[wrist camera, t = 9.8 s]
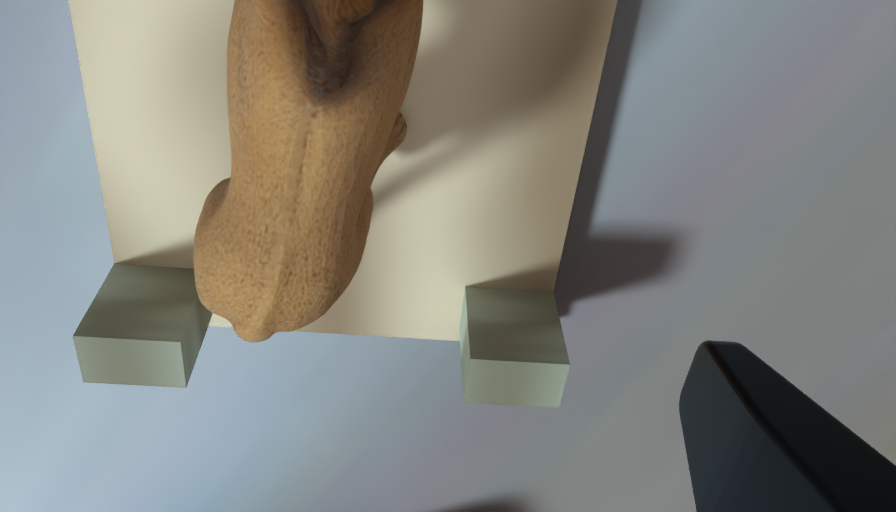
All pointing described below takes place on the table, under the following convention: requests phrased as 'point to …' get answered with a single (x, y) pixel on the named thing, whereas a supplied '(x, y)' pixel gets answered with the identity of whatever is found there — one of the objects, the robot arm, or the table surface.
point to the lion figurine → (302, 155)
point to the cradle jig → (394, 186)
